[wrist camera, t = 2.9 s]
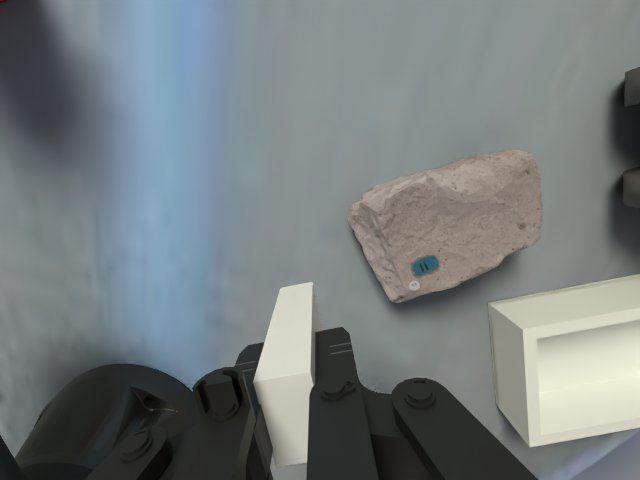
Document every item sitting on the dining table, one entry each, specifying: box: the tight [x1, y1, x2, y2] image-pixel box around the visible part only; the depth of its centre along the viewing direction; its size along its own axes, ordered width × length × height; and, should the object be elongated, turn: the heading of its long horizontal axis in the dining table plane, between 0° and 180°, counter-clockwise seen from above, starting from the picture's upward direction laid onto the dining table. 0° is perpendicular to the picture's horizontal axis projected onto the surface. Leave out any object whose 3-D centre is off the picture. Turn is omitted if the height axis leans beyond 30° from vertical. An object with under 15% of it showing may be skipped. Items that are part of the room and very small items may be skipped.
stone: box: [348, 150, 543, 303], centre depth 25 cm, size 13×10×6 cm
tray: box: [488, 274, 640, 447], centre depth 28 cm, size 15×11×5 cm
